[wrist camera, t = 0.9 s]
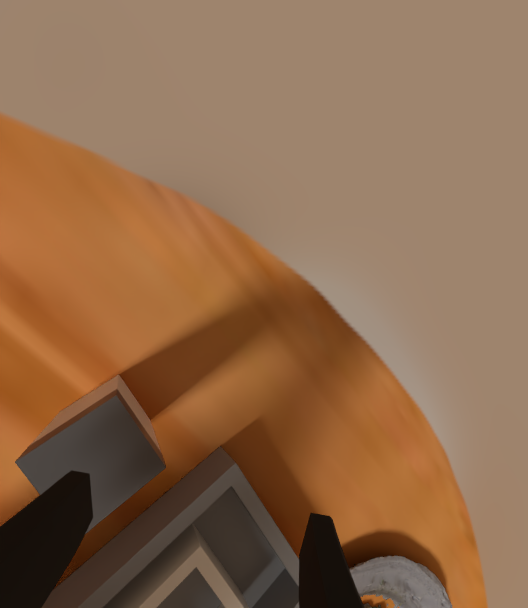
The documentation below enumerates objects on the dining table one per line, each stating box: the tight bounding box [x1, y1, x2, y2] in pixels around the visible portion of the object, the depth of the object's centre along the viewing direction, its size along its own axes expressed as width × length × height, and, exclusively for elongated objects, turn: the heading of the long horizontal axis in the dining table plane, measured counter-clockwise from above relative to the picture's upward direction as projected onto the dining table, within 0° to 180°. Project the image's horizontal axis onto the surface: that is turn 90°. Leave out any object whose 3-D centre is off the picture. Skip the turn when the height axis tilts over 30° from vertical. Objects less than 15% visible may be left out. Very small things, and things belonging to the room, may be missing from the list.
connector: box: [15, 375, 166, 534], centre depth 17 cm, size 4×4×9 cm
